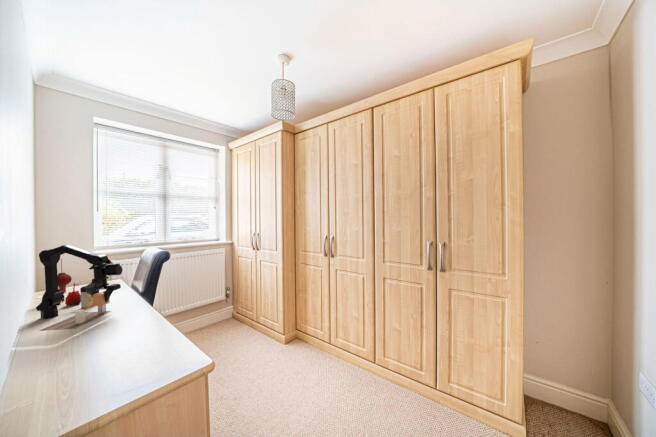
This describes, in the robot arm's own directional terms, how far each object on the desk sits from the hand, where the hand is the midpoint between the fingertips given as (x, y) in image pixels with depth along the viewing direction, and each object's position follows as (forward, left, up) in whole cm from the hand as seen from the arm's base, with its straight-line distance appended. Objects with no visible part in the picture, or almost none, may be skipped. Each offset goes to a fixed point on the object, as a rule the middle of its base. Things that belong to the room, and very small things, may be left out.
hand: (101, 302), depth 151 cm
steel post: (0, 0, -7) cm, 7 cm away
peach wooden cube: (0, 0, -1) cm, 1 cm away
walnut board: (-4, -10, -7) cm, 13 cm away
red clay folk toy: (-34, +21, -7) cm, 41 cm away
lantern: (-48, +29, -7) cm, 57 cm away
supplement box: (-20, +17, -7) cm, 28 cm away
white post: (0, -14, -7) cm, 16 cm away
